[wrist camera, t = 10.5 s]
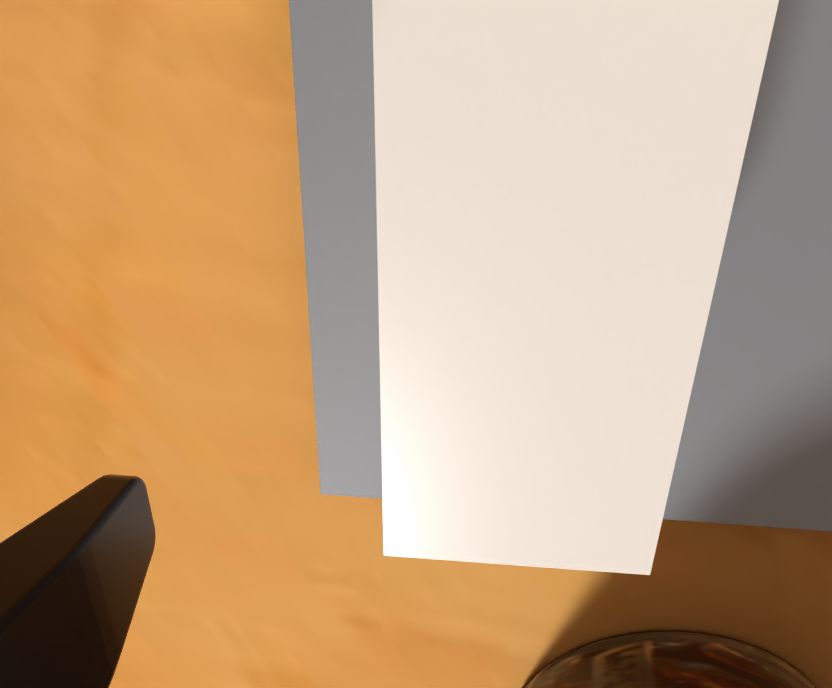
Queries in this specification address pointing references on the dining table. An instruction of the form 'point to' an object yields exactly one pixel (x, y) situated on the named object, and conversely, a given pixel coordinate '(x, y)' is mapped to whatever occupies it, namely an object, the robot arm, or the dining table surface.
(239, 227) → the dining table surface
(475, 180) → the housing
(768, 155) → the board
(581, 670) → the jar
